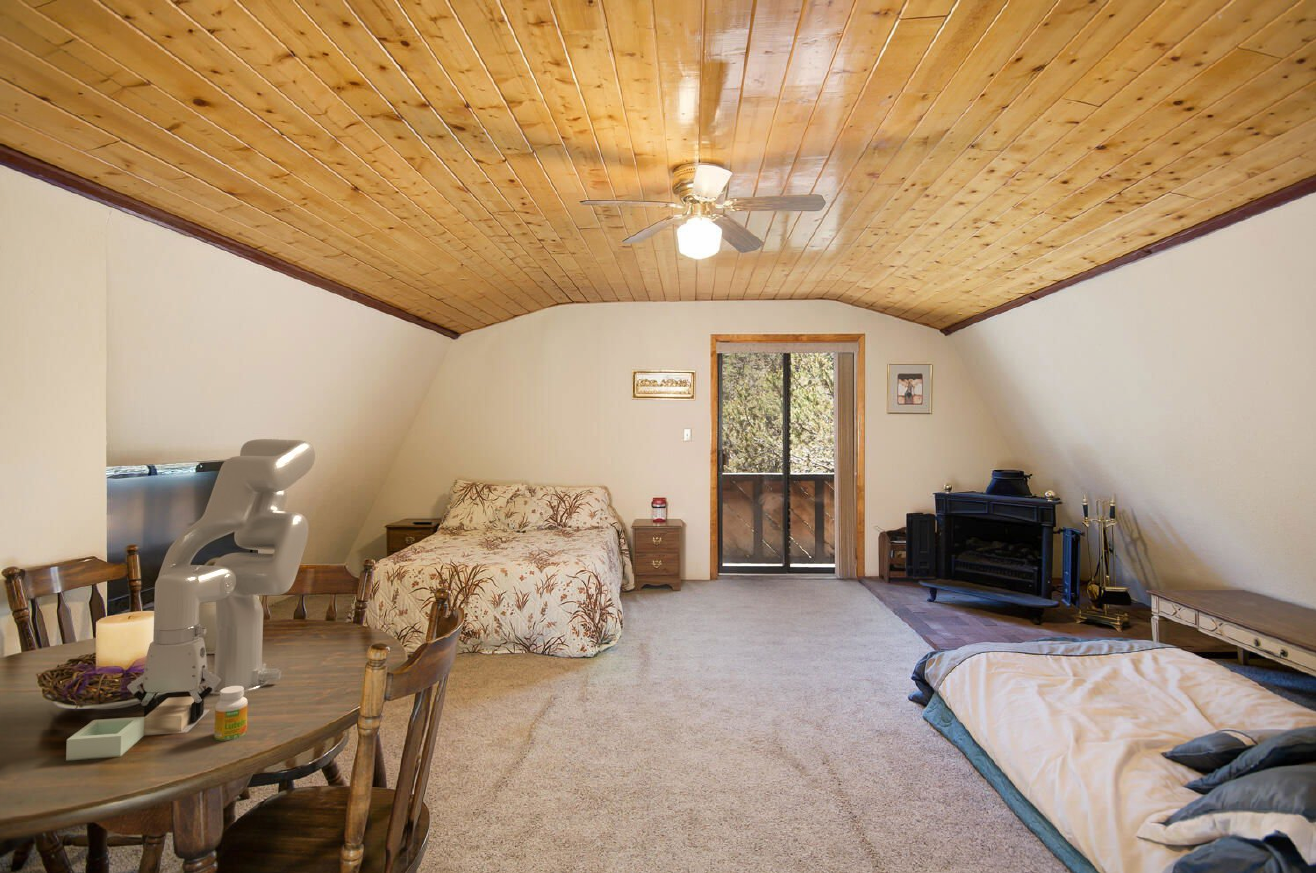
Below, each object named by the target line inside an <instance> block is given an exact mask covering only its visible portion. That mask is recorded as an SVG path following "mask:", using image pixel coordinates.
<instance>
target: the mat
mask: <svg viewBox="0 0 1316 873" xmlns="http://www.w3.org/2000/svg"><path fill="white" fill-rule="evenodd" d="M209 711H210V709H204V712H203V715H202V716H201V717H200V718H199V719H198V720H197V721H196V722H193V723H192V722H191V723H190V724H188V725H187V726H186V727H185V728H184V729H183V730H182V731H181V732H166V733H152V734H144V736H154V735H155V736H157V735H165V734H167V735H170V734H180V733H182V734H183V733H184V734H185V733H188V732H189V731H190V730H192V728H193V727H195V725H196V724H197V723H198V722H199V721H201V719H202V718H203V717H204V716H206V714H208V713H209Z"/></svg>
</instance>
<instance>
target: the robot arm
mask: <svg viewBox="0 0 1316 873" xmlns="http://www.w3.org/2000/svg"><path fill="white" fill-rule="evenodd" d="M239 453H240V454H239V455H237V456H232V457H229V458H228V459H227V458H226V460H225V461H224V462H223V463H222V465H221V467H220V469H219V472H218V474H217V478H216V479H215V483H214V486H213V489H212V491H211V493H210V494H211V495H210V497H209V500H208V501H207V502H208V503H207V506H206V508H205V511H204V513H203V515H202V516H201V518H199V520H197V521H195V522H194V523H193V524H191V525H190V526H189V527H188V528H187V529H185V530H184V531H183V532H182V533H181V534H180V535H179V536H178V537H177V538H176V539H175V540H174V541H173V543H172V544H171V545H170V547H169V548H168V550H167V551H166V554H165V556H164V559H163V562H162V564H161V567H160V570H159V571H158V572H159V573H158V577H157V579H156V581H155V583H154V600H153V601H154V606H153V607H154V608H153V640H152V642H151V643H150V644H149V645H148V649H147V653H146V656H145V657H146V658H145V663H144V669H143V674H142V675H140V676H139V677H137V678H136V679H134V680H133V681H131V682H130V683H129V684H128V685H127V687H126V688H127V689H128V690H129V692H131V694H132V695H133V697H134V698H135V699H137V700H138V701H139V702H140V704H141V706H143V717H145V716H147V715H148V714H149V713H150V712H151V711H153V710H154V709H155V708H156V707H157V706H159V705H158V703H159V702H158V699H156V697H157V695H158V694H165V693H166V694H167V693H182V692H183V693H184V692H188V693H189V694H190V697H192V698H193V699H194V702H193V703H192V705H191V722H192V723H193V722H196V721H197V720H198V719H199V718H200V717H201V716H202V715H203V712H204V710H205V709H204V708H205V698H206V697H207V696H209V695H210V694H211V695H216V696H220V691H221V690H222V689H223V688H226V687H230V686H242V687H244V693H249V692H252V691H255V690H257V689H260V688H263V687H264V686H266V685H267V684H268V683H270V680H271V681H273V680H280V679H281V677H282V670H279V668H270V669H269V668H268V667H267V663H266V662H263V634H264V633H263V628H264V609H263V605H262V603H261V601H260V598H259V597H258V595H259V596H260V595H261V596H278V595H283V594H285V593H288V592H289V590H290V589H292V587H293V585H294V583H295V581H296V577H297V575H298V572H299V568H300V565H301V563H302V559H303V555H304V552H305V549H306V547H307V546H306V545H307V541H308V539H309V529H310V528H309V523H308V520H307V518H306V517H305V516H304V515H303V514H302V513H300V512H296V511H288V510H287V511H285V506H286V503H287V499H288V493H287V489H289V487H291V486H292V485H294V484H295V483H296V482H297V481H299V480H300V479H302V477H304V476H305V475H307V474H308V473H309V472H310V471H311V469H312V468H313V466H314V464H315V460H316V452H315V448H314V447H313V446H312V444H310V443H309V442H308V441H306V440H301V439H278V438H277V439H274V438H273V439H272V438H270V439H269V438H259V439H252V440H249V441H246V442H245V443H244V444H243V445H242V446H241V448H240V451H239ZM232 533H234V535H233V538H234V543H235V544H236V545H237V546H238V547H240V548H242V549H245V550H253V551H254V550H255V551H274V552H273V553H264V552H263V553H261V552H231V553H227V554H224V555H222V556H221V557H218V558H219V559H218V560H217V561H216V562H215V563H214V564H213V565H212V566H204V565H205V564H204V565H203V564H202V565H201V564H198V565H197V564H192V561H193V559H194V557H195V556H196V555H197V553H198V552H199V551H200V550H201V549H202V548H204V547H205V546H206V545H208V544H209V543H212V542H213V541H216V540H217V539H220V538H222V537H224V536H228V535H230V534H232ZM209 602H215V604H216V626H215V654H214V662H213V663H214V669H213V670H214V671H213V672H214V673H213V672H212V671H210V670H209V669H208V659H207V657H208V656H207V655H206V649H205V643H204V639H203V638H202V637H199V636H200V635H204V634H206V628H202V627H200V624H199V606H200V604H203V603H209ZM205 682H208V684H207V685H206V686H205V689H204V687H203V686H202V684H204V683H205ZM141 684H142V686H141ZM142 687H143V688H142Z"/></svg>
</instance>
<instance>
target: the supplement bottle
mask: <svg viewBox="0 0 1316 873" xmlns="http://www.w3.org/2000/svg"><path fill="white" fill-rule="evenodd" d="M244 695H245V692H244V687H242V686H230V687H226V688H223V689H222V690H221V691H220V695H219V699H220V700H218V701H217V703H216V704H215V706H214V707H215V708H214V709H215V710H214V712H215V713H214V737H213V738H214V739H215V740H216V741H219V742H220V741H223V742H225V741H226V742H227V741H232V740H236V739H239V738H241V737H243V736H245V735H247V731H248V704H249V703H248V699H247V698H246V697H245V696H244Z"/></svg>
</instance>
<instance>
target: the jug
mask: <svg viewBox="0 0 1316 873" xmlns="http://www.w3.org/2000/svg"><path fill="white" fill-rule="evenodd" d="M219 558H220V557H213V558H211V559H209V560H208V561H206V563H204V566H214V564H215V562H216V561H217V560H218V559H219ZM199 624H200V627H202V628H206V634H204V635H200V636H199V637H202V638H203V639H204V643H205V649H206V656H207V655H215V626H216V604H215V602H209V603H203V604H200V606H199Z"/></svg>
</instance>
